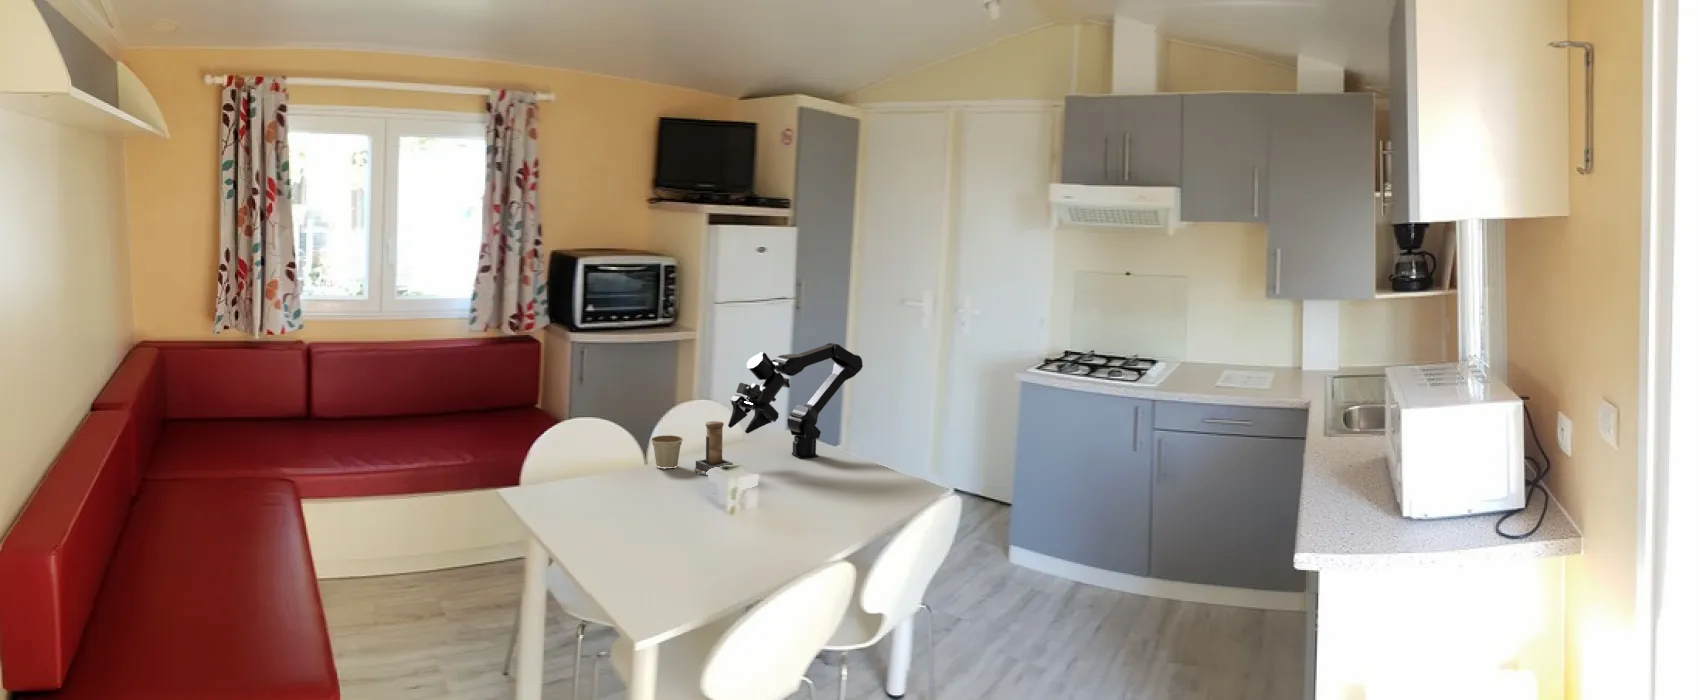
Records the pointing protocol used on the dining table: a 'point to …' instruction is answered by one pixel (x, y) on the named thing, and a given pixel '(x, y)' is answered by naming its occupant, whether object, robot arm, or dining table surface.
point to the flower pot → (667, 450)
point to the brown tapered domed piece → (714, 442)
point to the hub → (708, 466)
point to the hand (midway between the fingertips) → (737, 429)
